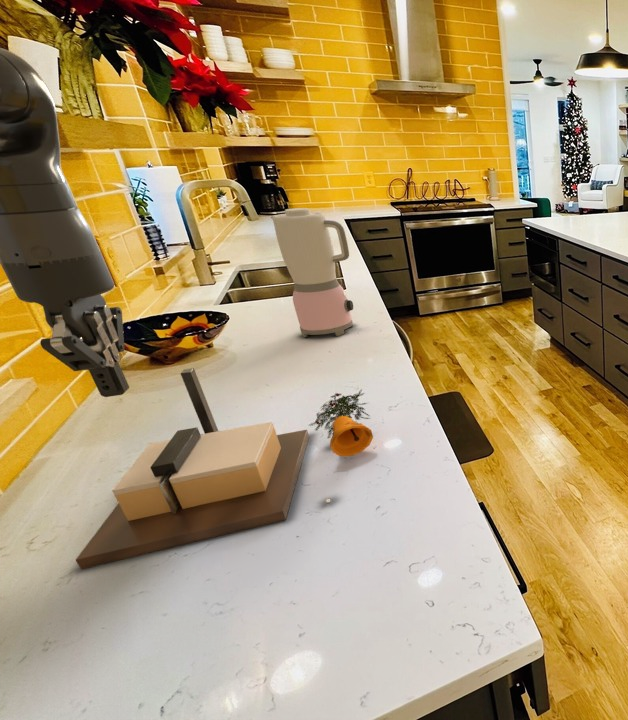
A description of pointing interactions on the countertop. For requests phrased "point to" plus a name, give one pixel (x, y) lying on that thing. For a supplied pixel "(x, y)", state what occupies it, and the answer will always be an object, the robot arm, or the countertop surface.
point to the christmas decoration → (345, 426)
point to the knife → (174, 462)
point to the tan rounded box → (227, 465)
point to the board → (202, 520)
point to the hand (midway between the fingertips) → (116, 393)
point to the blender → (314, 270)
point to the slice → (142, 486)
